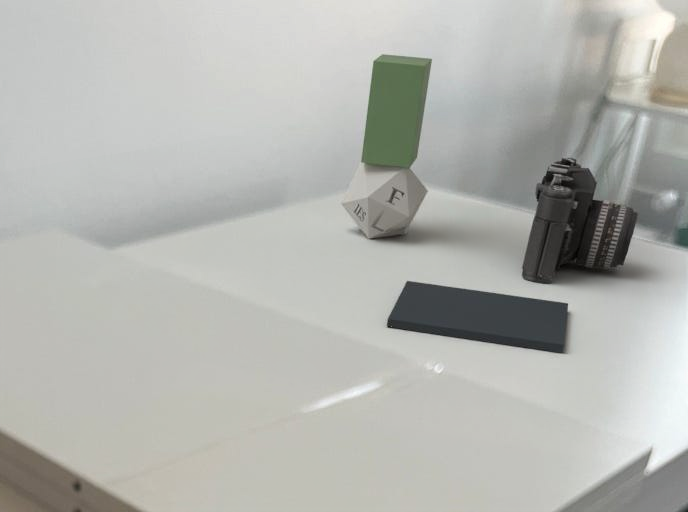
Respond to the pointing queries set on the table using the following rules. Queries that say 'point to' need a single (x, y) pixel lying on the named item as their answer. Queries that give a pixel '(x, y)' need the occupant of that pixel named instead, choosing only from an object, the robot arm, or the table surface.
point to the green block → (395, 110)
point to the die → (383, 199)
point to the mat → (481, 316)
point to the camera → (575, 224)
